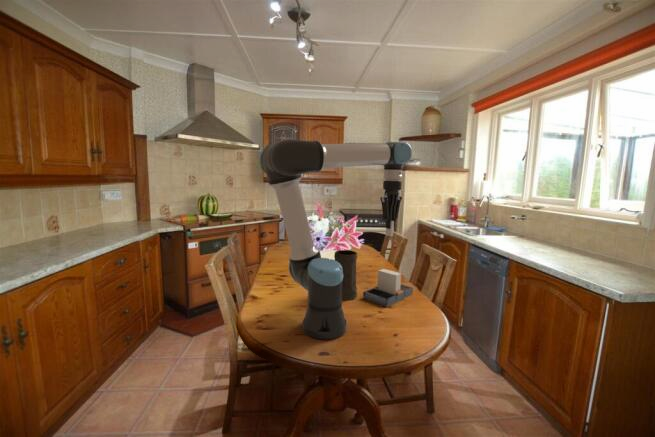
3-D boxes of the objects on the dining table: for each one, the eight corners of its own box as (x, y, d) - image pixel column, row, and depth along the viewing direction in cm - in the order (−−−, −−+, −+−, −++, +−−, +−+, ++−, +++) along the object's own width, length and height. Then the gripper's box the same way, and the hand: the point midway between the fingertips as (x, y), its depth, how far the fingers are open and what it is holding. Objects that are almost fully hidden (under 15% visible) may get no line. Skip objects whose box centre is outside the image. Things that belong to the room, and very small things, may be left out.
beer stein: (355, 302, 127) (357, 254, 125) (330, 299, 129) (331, 253, 127) (358, 291, 142) (360, 248, 140) (336, 288, 144) (337, 247, 142)
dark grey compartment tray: (386, 307, 122) (387, 298, 122) (363, 298, 131) (363, 290, 130) (412, 294, 137) (413, 286, 136) (389, 286, 145) (390, 279, 144)
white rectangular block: (395, 298, 129) (396, 275, 127) (377, 292, 135) (378, 270, 134) (400, 295, 132) (401, 273, 130) (382, 289, 138) (383, 268, 136)
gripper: (391, 180, 119) (388, 239, 123) (408, 180, 129) (405, 235, 132) (375, 179, 125) (373, 236, 128) (393, 180, 134) (390, 232, 137)
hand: (389, 235), depth 130 cm, fingers closed
